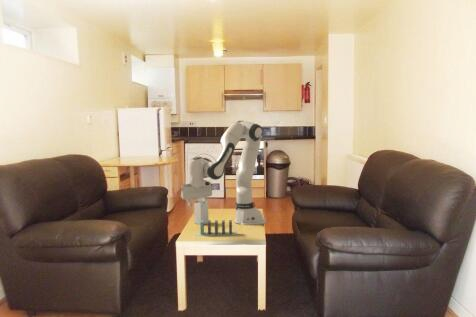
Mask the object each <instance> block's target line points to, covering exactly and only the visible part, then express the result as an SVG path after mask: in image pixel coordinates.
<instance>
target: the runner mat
mask: <svg viewBox="0 0 476 317" xmlns="http://www.w3.org/2000/svg"><path fill="white" fill-rule="evenodd" d="M195 236H209V235H208V231H204V234H203V235H201V231H196V233H195ZM210 236H216V235H215V231H211V235H210ZM217 236H223V235H222V231H218V235H217ZM224 236H238V232H237V231H232V234H229V231H225V235H224Z"/></svg>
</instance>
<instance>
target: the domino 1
mask: <svg viewBox="0 0 476 317" xmlns="http://www.w3.org/2000/svg"><path fill="white" fill-rule="evenodd" d="M199 225H200V226H199V227H200V232H201V235H200V236H204V235H203V234H204V232H205V224H204V220H201V222H200V224H199Z"/></svg>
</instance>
